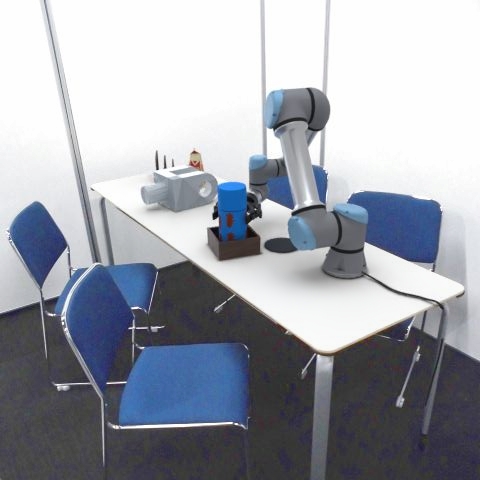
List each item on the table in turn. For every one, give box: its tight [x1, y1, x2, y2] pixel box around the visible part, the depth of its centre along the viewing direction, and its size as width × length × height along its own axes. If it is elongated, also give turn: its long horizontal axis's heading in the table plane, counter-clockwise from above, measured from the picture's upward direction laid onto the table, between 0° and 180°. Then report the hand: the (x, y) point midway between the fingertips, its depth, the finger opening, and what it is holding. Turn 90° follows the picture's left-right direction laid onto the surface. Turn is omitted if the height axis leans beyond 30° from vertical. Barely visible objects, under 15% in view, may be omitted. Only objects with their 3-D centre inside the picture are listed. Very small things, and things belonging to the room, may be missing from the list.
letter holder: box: [154, 149, 175, 171], centre depth 267 cm, size 10×20×14 cm, turn 7°
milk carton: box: [188, 147, 206, 188], centre depth 252 cm, size 9×9×20 cm
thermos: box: [216, 181, 248, 242], centre depth 179 cm, size 11×11×25 cm
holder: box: [206, 223, 262, 261], centre depth 184 cm, size 17×17×7 cm
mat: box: [263, 236, 299, 254], centre depth 187 cm, size 14×14×1 cm
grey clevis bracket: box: [140, 164, 219, 213], centre depth 228 cm, size 35×19×15 cm, turn 126°
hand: (229, 218), depth 176 cm, fingers open, 13 cm apart
